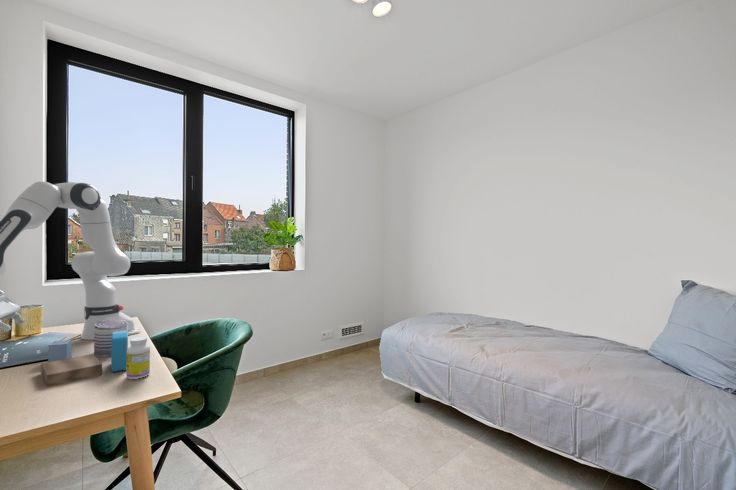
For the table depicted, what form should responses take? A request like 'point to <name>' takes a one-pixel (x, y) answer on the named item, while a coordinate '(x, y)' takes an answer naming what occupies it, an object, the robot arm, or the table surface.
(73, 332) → the table surface
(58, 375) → the walnut base block
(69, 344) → the slate blue block
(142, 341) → the supplement bottle
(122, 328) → the can
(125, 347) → the data package
